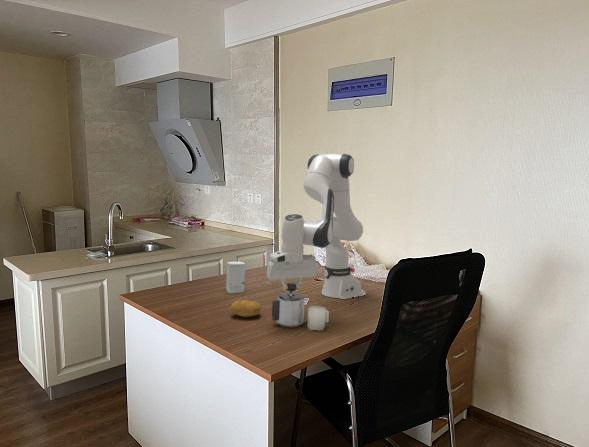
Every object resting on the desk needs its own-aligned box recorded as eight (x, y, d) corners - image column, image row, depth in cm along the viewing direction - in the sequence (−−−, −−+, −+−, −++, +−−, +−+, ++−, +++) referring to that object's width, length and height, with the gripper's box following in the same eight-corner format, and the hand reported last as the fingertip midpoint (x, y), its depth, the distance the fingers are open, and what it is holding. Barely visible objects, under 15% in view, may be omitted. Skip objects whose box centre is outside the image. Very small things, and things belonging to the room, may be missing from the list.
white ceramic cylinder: (323, 323, 180) (323, 304, 179) (330, 329, 173) (331, 310, 172) (304, 325, 176) (305, 306, 175) (311, 332, 170) (312, 312, 169)
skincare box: (228, 293, 216) (229, 264, 214) (225, 290, 221) (226, 261, 219) (245, 292, 219) (245, 263, 217) (241, 289, 224) (242, 260, 222)
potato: (259, 320, 180) (259, 304, 179) (228, 319, 181) (228, 303, 180) (261, 313, 190) (262, 297, 189) (232, 312, 190) (232, 296, 189)
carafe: (297, 317, 186) (298, 290, 184) (307, 326, 176) (308, 297, 174) (268, 320, 181) (268, 292, 179) (276, 329, 171) (277, 300, 170)
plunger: (295, 315, 184) (296, 280, 182) (302, 321, 177) (303, 285, 175) (278, 317, 181) (279, 282, 179) (284, 323, 174) (285, 287, 172)
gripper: (312, 252, 182) (311, 285, 184) (265, 255, 174) (265, 288, 176) (319, 255, 176) (317, 289, 178) (271, 258, 168) (270, 293, 170)
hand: (291, 289), depth 177 cm, fingers closed on plunger, 4 cm apart
